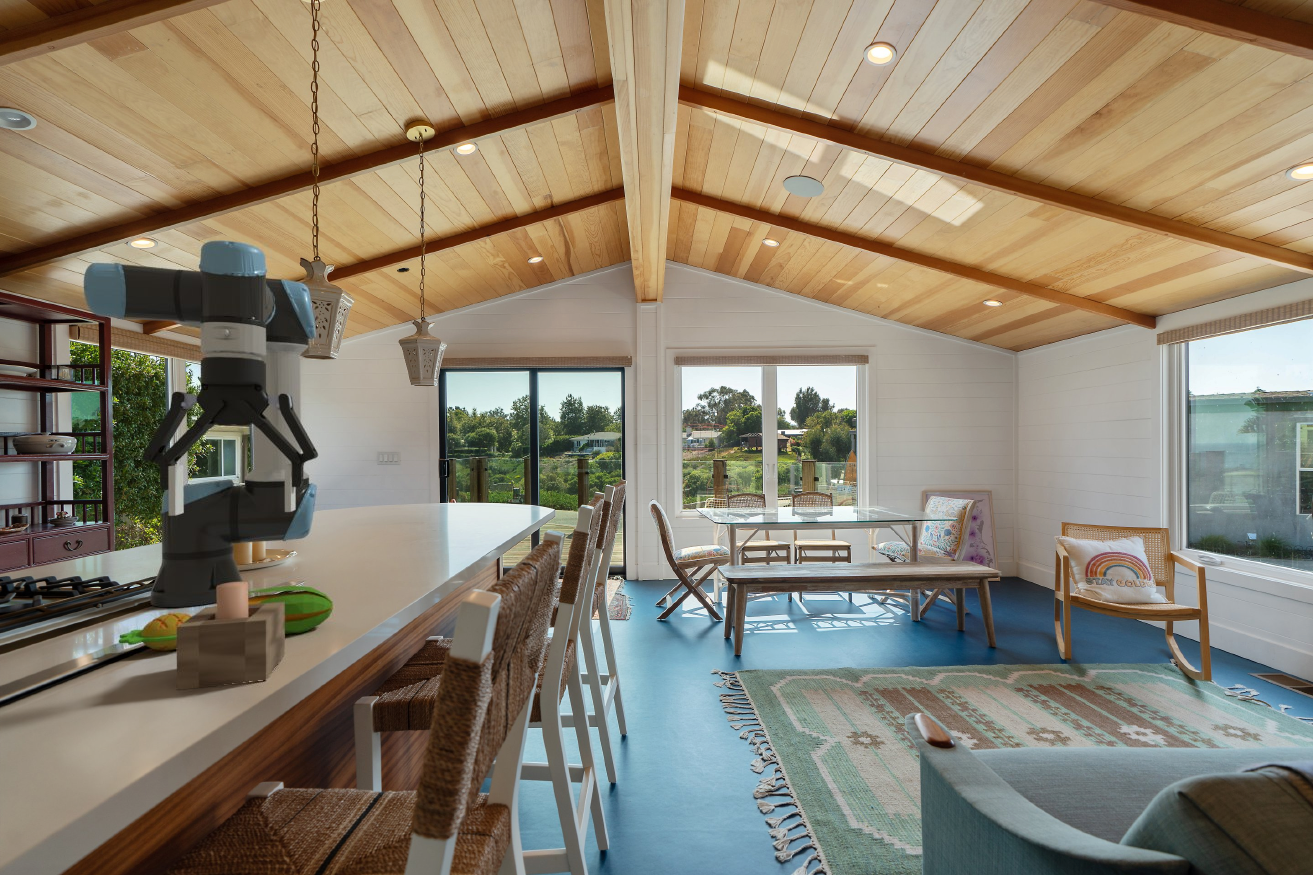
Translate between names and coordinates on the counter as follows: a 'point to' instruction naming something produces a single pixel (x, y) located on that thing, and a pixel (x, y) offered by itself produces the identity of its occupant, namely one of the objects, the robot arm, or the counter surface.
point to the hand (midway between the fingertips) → (234, 512)
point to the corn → (298, 606)
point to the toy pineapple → (157, 632)
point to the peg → (232, 600)
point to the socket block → (230, 646)
